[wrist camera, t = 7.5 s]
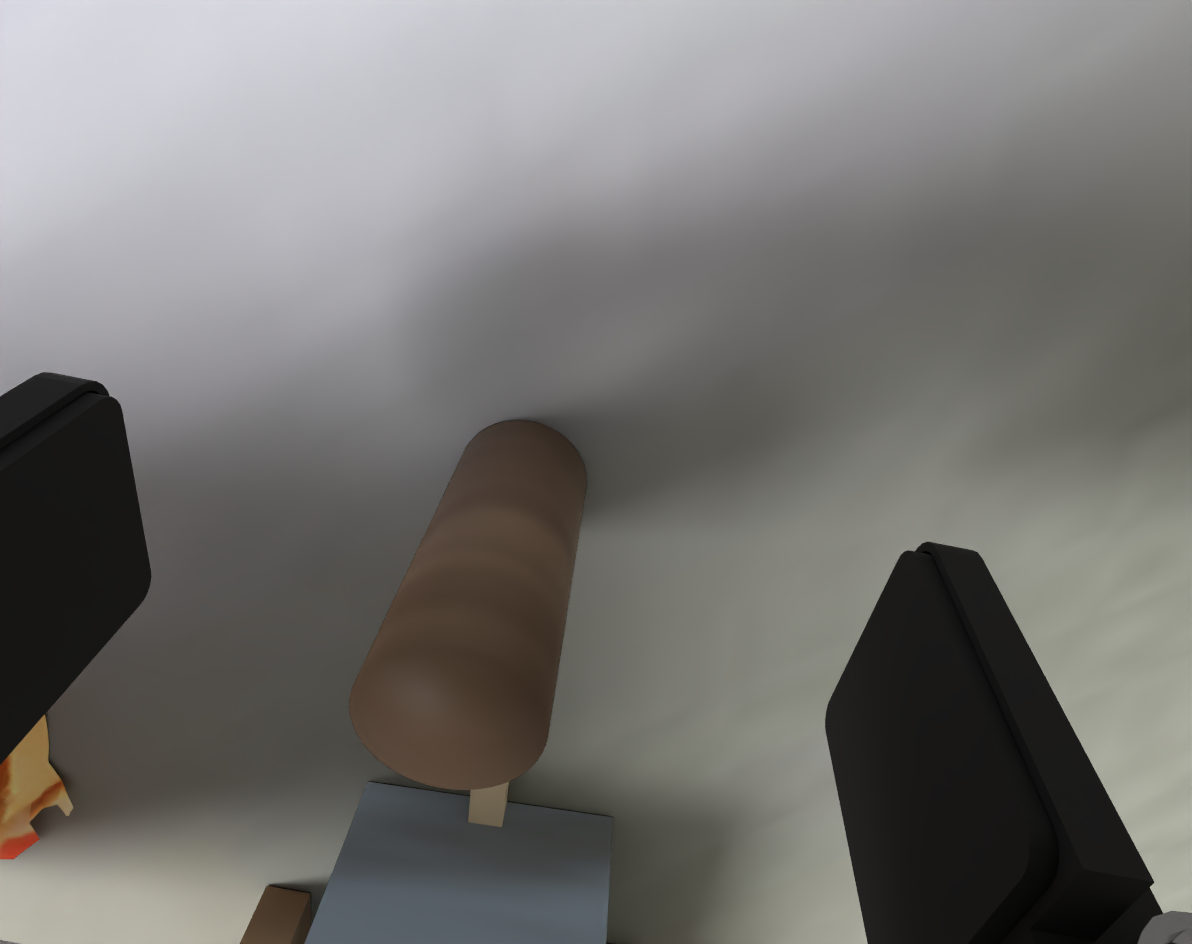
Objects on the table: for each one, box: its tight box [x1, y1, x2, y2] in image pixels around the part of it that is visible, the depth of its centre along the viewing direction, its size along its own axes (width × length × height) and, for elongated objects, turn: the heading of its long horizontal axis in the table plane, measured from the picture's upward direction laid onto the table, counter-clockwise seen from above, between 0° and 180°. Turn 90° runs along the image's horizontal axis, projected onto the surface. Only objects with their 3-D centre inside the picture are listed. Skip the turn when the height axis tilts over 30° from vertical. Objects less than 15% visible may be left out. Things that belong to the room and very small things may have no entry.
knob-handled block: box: [305, 420, 613, 944], centre depth 15 cm, size 16×6×6 cm, turn 172°
